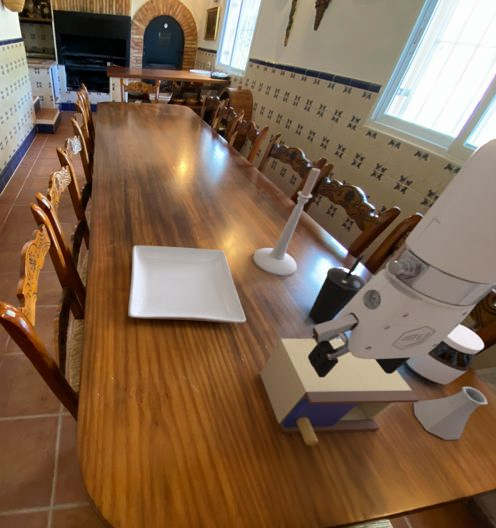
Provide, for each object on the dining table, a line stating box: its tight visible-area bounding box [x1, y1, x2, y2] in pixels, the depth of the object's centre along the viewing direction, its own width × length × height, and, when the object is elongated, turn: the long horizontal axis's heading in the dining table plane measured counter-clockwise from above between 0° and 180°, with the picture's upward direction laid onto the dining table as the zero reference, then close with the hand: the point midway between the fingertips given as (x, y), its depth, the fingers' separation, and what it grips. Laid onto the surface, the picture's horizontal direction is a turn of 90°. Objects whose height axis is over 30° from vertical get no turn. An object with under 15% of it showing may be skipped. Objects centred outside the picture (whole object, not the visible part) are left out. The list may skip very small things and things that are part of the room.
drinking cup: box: [308, 254, 366, 325], centre depth 68 cm, size 8×8×20 cm
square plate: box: [127, 245, 247, 324], centre depth 78 cm, size 27×27×4 cm
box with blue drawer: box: [259, 338, 420, 434], centre depth 54 cm, size 12×18×12 cm, turn 93°
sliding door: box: [283, 398, 358, 446], centre depth 48 cm, size 4×9×9 cm, turn 93°
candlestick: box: [252, 167, 321, 277], centre depth 82 cm, size 13×13×30 cm
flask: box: [412, 386, 489, 441], centre depth 53 cm, size 7×7×10 cm
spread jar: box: [404, 323, 485, 386], centre depth 63 cm, size 12×11×12 cm
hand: (348, 365), depth 40 cm, fingers open, 9 cm apart
